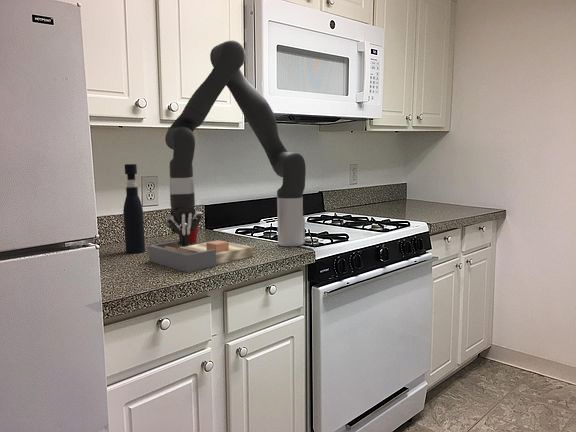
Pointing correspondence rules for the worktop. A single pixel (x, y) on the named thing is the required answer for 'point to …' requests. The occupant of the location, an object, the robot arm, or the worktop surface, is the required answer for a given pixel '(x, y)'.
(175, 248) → the terracotta tile
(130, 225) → the wine bottle
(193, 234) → the plastic cup
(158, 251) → the box
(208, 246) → the terracotta tile
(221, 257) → the birch board
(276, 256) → the worktop surface
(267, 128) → the robot arm
